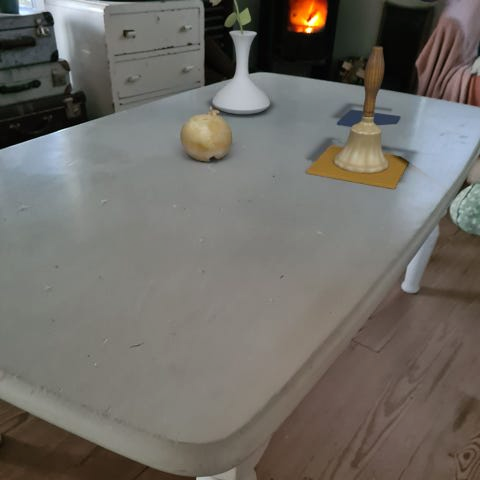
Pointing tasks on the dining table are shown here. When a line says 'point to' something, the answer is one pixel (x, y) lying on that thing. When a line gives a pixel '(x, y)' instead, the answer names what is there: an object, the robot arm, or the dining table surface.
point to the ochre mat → (381, 179)
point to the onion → (206, 136)
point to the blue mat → (356, 117)
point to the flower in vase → (240, 73)
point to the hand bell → (366, 126)
